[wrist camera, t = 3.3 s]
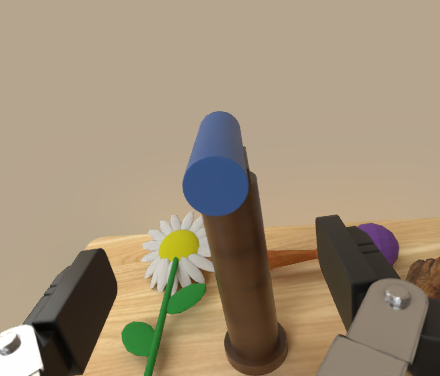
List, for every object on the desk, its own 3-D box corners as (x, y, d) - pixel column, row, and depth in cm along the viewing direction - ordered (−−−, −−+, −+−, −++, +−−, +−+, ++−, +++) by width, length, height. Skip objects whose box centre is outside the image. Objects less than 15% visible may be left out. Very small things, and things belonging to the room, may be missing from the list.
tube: (203, 154, 30) (195, 115, 28) (243, 148, 29) (237, 107, 28) (190, 220, 19) (175, 161, 17) (252, 211, 18) (243, 151, 17)
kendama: (236, 234, 47) (387, 213, 42) (245, 272, 48) (392, 256, 44) (230, 253, 41) (403, 231, 37) (239, 295, 43) (408, 279, 38)
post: (226, 326, 37) (186, 154, 29) (282, 319, 37) (258, 142, 29) (226, 379, 32) (176, 182, 23) (293, 372, 31) (266, 168, 23)
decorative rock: (453, 412, 26) (471, 307, 21) (374, 368, 30) (376, 274, 26) (487, 315, 33) (506, 223, 29) (419, 291, 37) (426, 207, 33)
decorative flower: (213, 459, 28) (228, 229, 53) (197, 432, 25) (221, 205, 50) (78, 462, 30) (154, 240, 55) (51, 438, 27) (144, 218, 53)
